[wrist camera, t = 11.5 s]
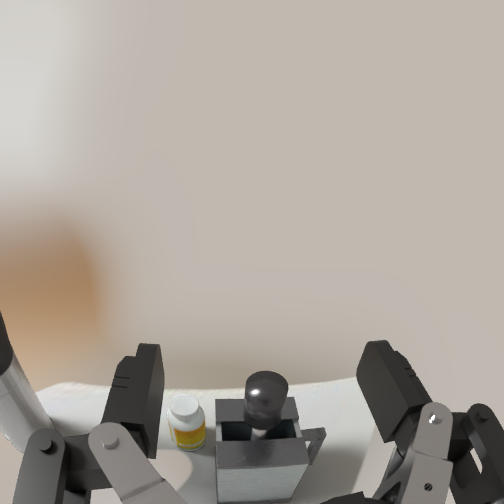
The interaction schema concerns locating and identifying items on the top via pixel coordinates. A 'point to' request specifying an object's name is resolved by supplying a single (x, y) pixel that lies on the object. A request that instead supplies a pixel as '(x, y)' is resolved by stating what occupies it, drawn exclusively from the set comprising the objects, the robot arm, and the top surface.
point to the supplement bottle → (186, 422)
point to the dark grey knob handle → (264, 402)
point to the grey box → (261, 455)
